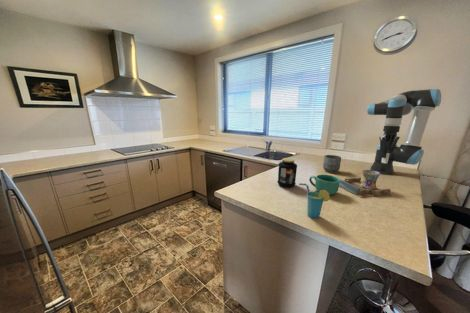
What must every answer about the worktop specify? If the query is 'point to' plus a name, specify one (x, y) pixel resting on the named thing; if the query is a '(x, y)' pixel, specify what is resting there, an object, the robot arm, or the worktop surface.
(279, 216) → the worktop surface
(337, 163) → the planter
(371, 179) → the mug
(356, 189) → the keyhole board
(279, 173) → the container
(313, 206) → the cup
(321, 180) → the mug
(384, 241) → the worktop surface
